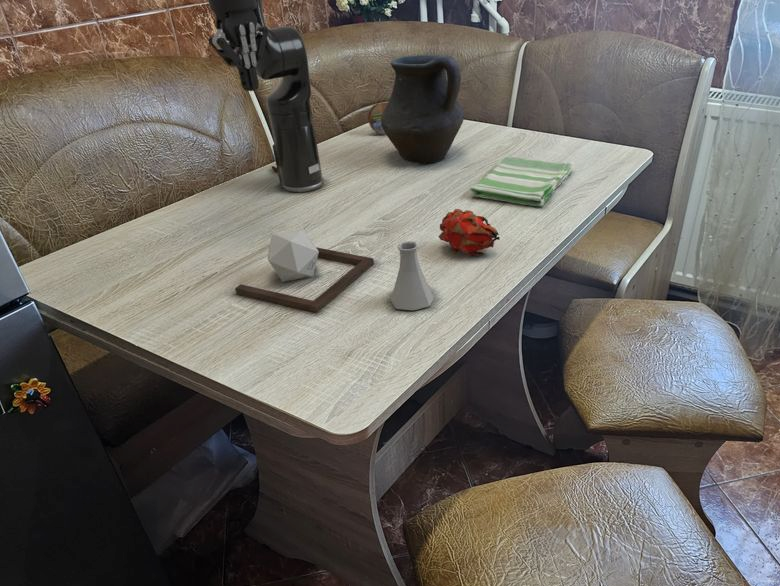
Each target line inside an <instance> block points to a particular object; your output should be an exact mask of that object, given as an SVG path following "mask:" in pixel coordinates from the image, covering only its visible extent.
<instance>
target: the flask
mask: <svg viewBox="0 0 780 586" xmlns="http://www.w3.org/2000/svg"><path fill="white" fill-rule="evenodd" d="M418 248H419V244H418V243H417V242H416V241H413V240H412V241H411V240H406V241H402V242H399V243H398V245H397V249H398V251H399V257H400V258H399V268H398V271H397V276H396V280H395V283H394V287H393V290H392V294H391V297H390V302H391V304H392V305H393V306H394V308H395V309H396V310H405V311H416V310H421V309H425V308H428V307H431V304H432V303H433V301H434V299H435V296H434V293H433V291H432V290H431V287H430V286H429V284H428V282H427V279H426V277H425V275H424V272H423V270H422V268H421V266H420V262H419V258H418V251H417V250H418Z"/></svg>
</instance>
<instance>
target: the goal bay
mask: <svg viewBox="0 0 780 586" xmlns="http://www.w3.org/2000/svg"><path fill="white" fill-rule="evenodd" d="M315 247H316V246H315ZM316 248H317V250H318V251H319V253H318V257H317V258H318V259H324V260H329V261H334V262H339V263H345V264H349V265H355V266H353V267H352V268H350V270H349V271H347V272H346V273H345V274H344V275H343V276H342V277H340V278H339V279H338V280H337V281H336V282H334V283H333V284H331V286H329V288H327V289H326V290H325V291H323V293H321V294H320V295H319V296H318V297H316V298H315V299H314V300H312V299H307V298H303V297H299V296H294V295H290V294H286V293H281V292H277V291H273V290H267V289H264V288H259V287H254V286H250V285H247V284H242V283H240V284H239V285H237V286H235V288H234V290H235V294H236V295H239V296H244V297H248V298H252V299H256V300H261V301H264V302H269V303H273V304H277V305H282V306H286V307H290V308H295V309H299V310H303V311H306V312H307V311H308V312H311V313H316V314H318V313H319V312H320V311H321V310H323V309H324V308H325V307H326V306H327V305H328V304H329V303H330V302H332V301H333V300H334V299H335V298H336V297H338V295H340V294H341V293H342V292H344V290H346V289H347V288H348V287H349V286H351V284H353V283H354V282H355V281H356V280H357V279H359V278H360V277H361V276H362V275H363V274H364V273H365V272H367V271H368V270H369V269H370V268H371V267H373V266H374V265H375V262H374V257H368V256H363V255H358V254H353V253H348V252H344V251H337V250H332V249H327V248H322V247H318V246H317V247H316Z"/></svg>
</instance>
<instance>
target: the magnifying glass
mask: <svg viewBox="0 0 780 586" xmlns="http://www.w3.org/2000/svg"><path fill="white" fill-rule="evenodd" d="M387 103H388V101H383V102H378V103H375V104H374V105H373V106H372V107H371V108H370V109H369V111H368V113H367V114H368V115H367V120H368V125H369V126H370V128H371V129H372V130H373V131H374V132H375V133H377V134H378V135H383V136H387V135H386V134H385V132H384V130H383V128H382V125H381V116H382V113H383V111H384V109H385V107H386V105H387Z"/></svg>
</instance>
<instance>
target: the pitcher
mask: <svg viewBox="0 0 780 586" xmlns="http://www.w3.org/2000/svg"><path fill="white" fill-rule="evenodd" d="M390 66H391V68H392V69H393V71H394V75H395V77H394V83H393V87H392V91H391V95H390V97H389V99H388V101H387V102H388V103H387V105H386V107H385V109H384V111H383V113H382V116H381V125H382V128H383V130H384V132H385V134H386V135H385V136H386V137H387V138H388V140H389V141H390V143H391V144H392V145H393V147H394V148H395V149H396V151H397V153H398V154H399V156H400V157H401V159H403V160H404V161H406V162H409V163H414V164H434V163H437V162H441V161H442V160H444V159H445V158H446V156H447V154H448V152H449V151H450V149H451V147H452V145H453V142H454V141H455V139H456V136H457V135H458V133H459V131H460V129H461V127H462V125H463V123H464V119H465V118H464V117H465V113H464V109H463V107H462V105H461V104H460V102H459V101H458V99H457V98H458V96H459V94H460V93H459V92H460V89H461V84H462V71H461V68H460V65H459V63H458V61H457V59H456V58H455V57H453V56H452V55H449V54H442V55H439V54H431V55H429V54H415V55H414V54H412V55H403V56H400V57H397V58H394V59H393V60H391V61H390Z"/></svg>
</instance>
